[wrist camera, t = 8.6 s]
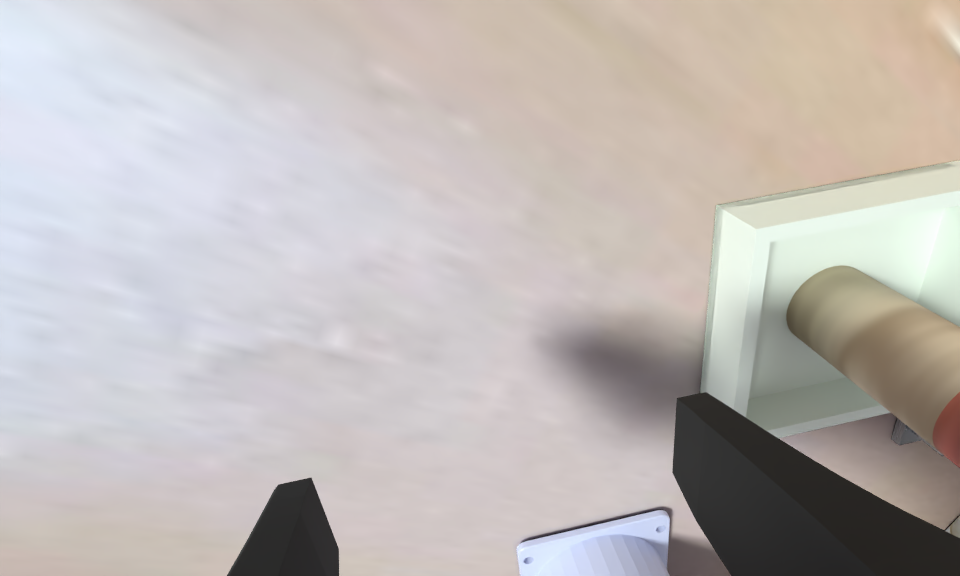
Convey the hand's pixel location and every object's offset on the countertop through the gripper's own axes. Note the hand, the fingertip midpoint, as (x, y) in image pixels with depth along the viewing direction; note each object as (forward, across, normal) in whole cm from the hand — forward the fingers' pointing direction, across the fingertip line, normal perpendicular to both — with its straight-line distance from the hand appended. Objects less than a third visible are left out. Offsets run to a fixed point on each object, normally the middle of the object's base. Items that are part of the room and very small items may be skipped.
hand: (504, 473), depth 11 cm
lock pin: (+10, -16, +5) cm, 19 cm away
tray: (+10, -16, +5) cm, 19 cm away
